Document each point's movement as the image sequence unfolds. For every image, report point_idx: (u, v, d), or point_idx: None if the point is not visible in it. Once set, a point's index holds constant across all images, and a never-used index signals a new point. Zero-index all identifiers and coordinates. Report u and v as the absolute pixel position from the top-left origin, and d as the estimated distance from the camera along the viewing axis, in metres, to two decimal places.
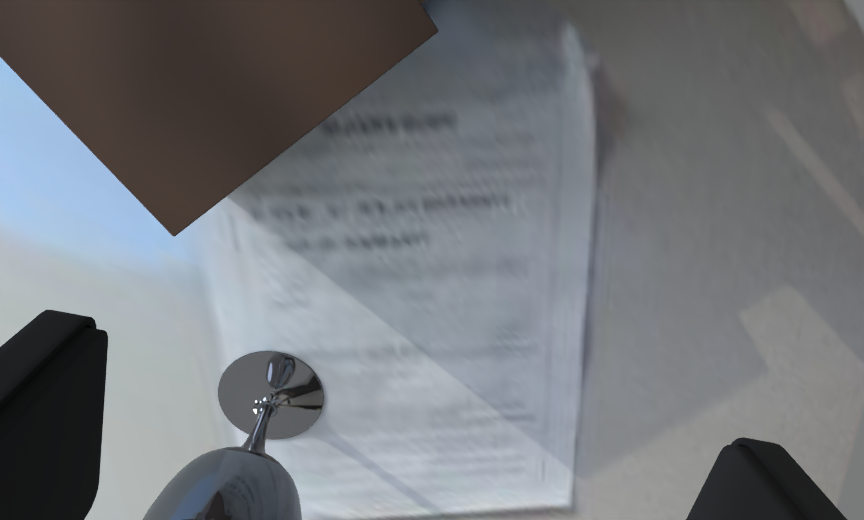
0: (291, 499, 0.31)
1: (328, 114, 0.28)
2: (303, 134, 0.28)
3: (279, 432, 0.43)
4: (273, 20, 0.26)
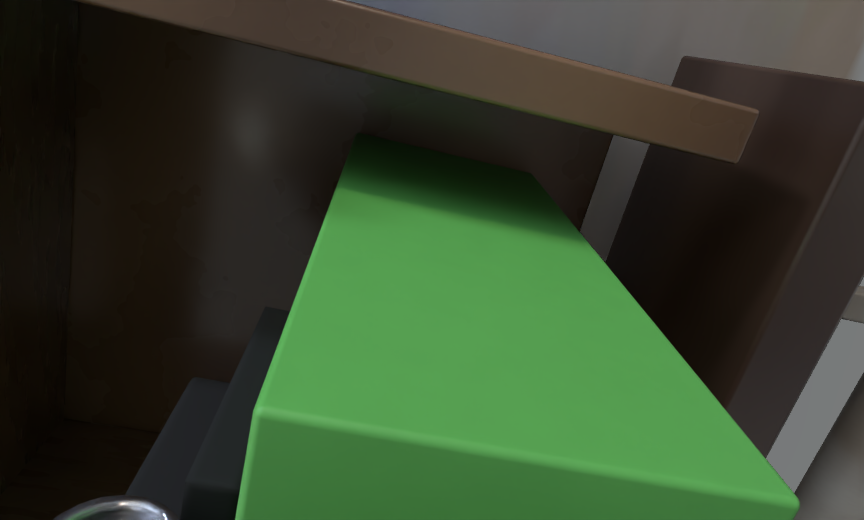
0: None
1: None
2: None
3: None
4: None
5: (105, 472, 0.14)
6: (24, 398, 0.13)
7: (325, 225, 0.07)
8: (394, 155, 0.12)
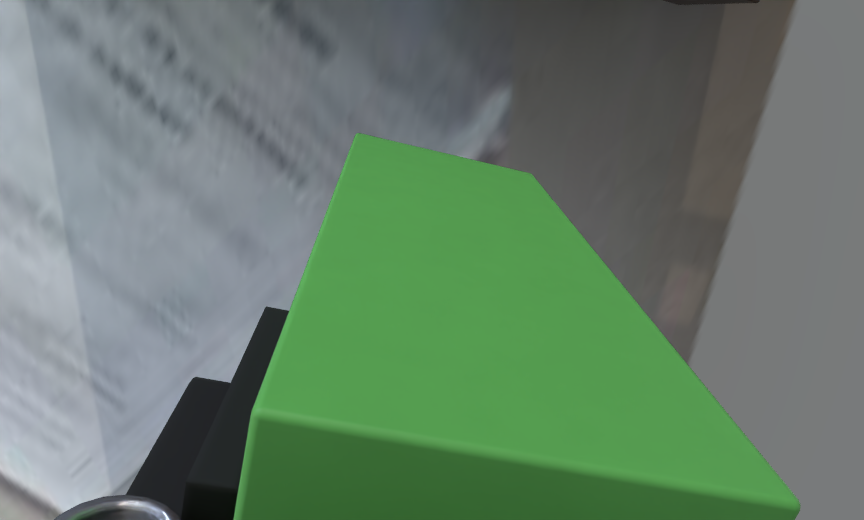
0: None
1: None
2: None
3: None
4: None
5: None
6: None
7: (324, 225, 0.07)
8: (394, 155, 0.12)
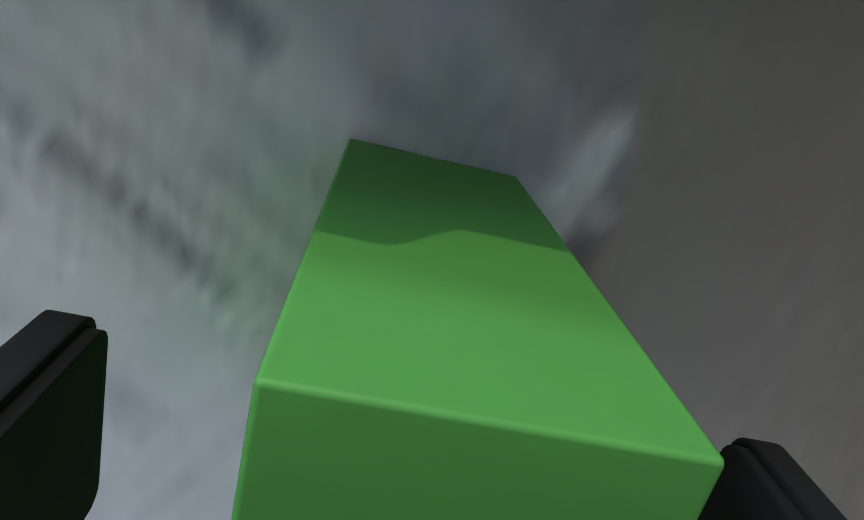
0: None
1: None
2: None
3: None
4: None
5: None
6: None
7: (318, 225, 0.08)
8: (384, 160, 0.13)
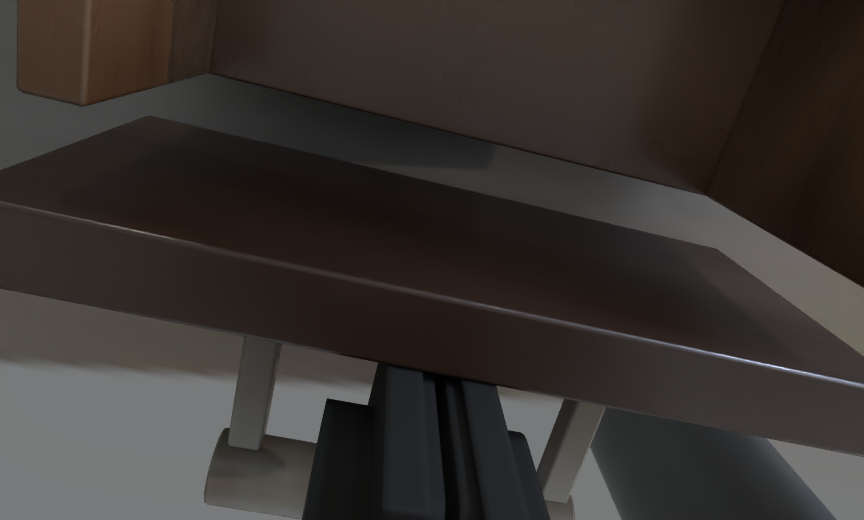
0: None
1: None
2: None
3: None
4: None
5: None
6: None
7: None
8: None
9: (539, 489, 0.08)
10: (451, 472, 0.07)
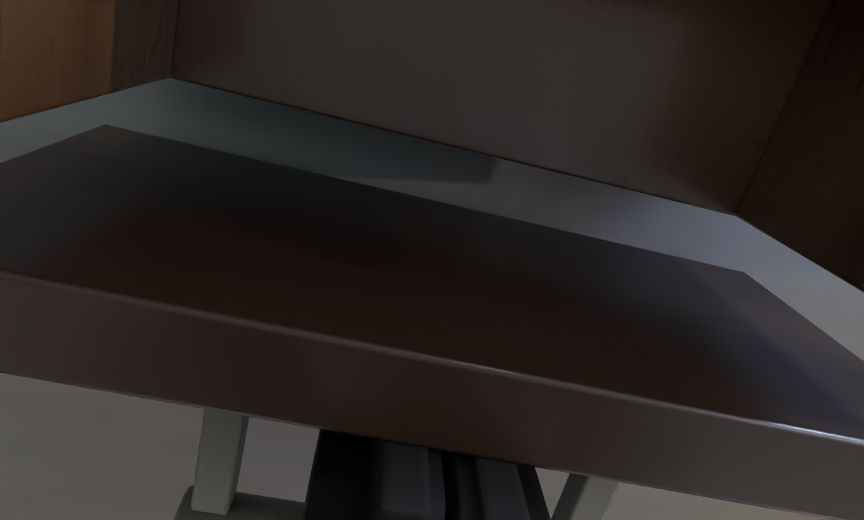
0: None
1: None
2: None
3: None
4: None
5: None
6: None
7: None
8: None
9: (539, 489, 0.08)
10: (451, 472, 0.07)
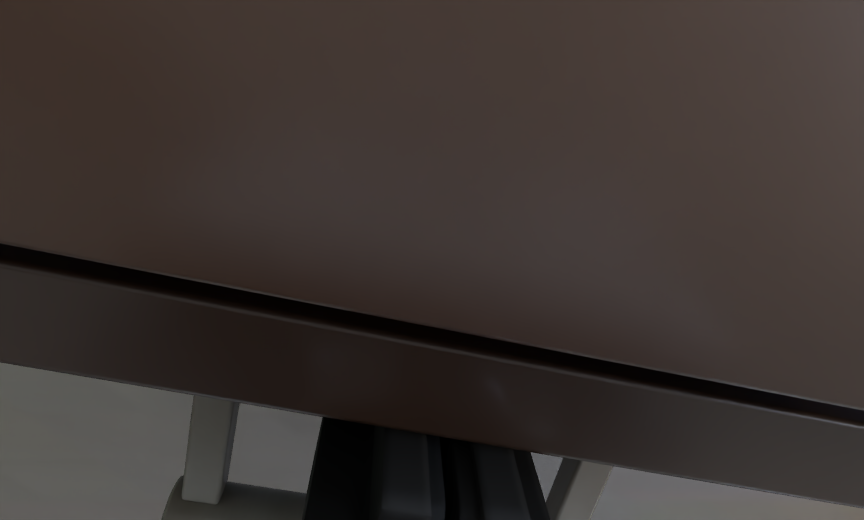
0: None
1: None
2: None
3: None
4: None
5: None
6: None
7: None
8: None
9: (539, 489, 0.08)
10: (451, 472, 0.07)
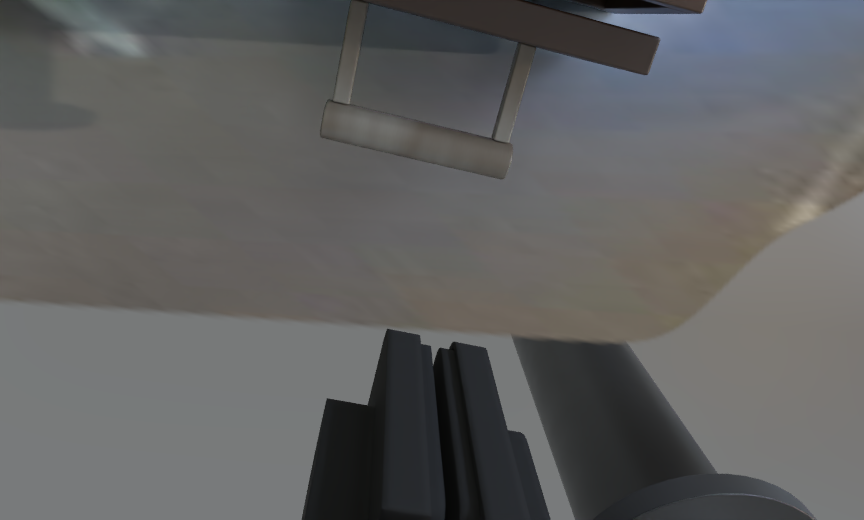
0: None
1: None
2: None
3: None
4: None
5: None
6: None
7: None
8: None
9: (539, 489, 0.08)
10: (451, 472, 0.07)
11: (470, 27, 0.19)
